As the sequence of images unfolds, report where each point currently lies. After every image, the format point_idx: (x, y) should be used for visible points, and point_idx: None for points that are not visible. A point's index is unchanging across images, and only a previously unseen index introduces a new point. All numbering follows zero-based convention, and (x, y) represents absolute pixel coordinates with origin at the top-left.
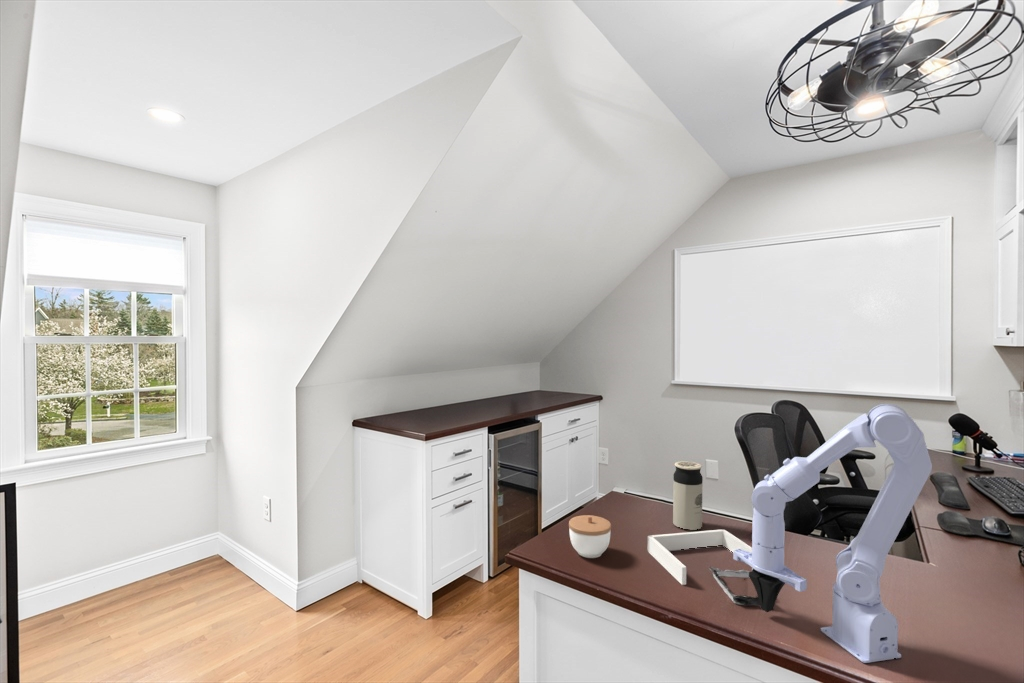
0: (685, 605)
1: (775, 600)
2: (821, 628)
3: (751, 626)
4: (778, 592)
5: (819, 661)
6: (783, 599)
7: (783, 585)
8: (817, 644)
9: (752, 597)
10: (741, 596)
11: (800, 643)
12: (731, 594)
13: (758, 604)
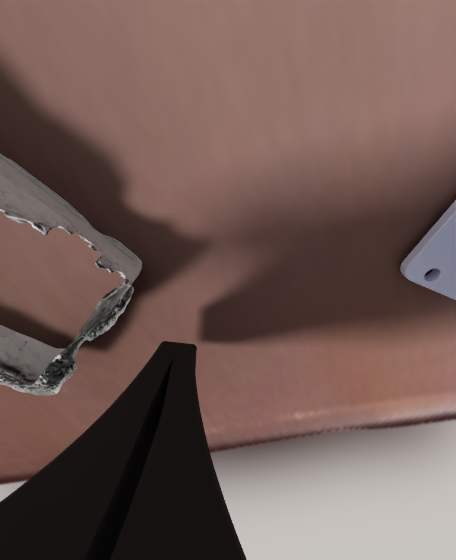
0: (31, 446)
1: (195, 383)
2: (410, 274)
3: None
4: (205, 444)
5: (416, 416)
6: (109, 99)
7: (225, 507)
8: (398, 355)
9: (77, 340)
10: (55, 369)
11: (346, 386)
12: (29, 388)
13: (107, 300)
